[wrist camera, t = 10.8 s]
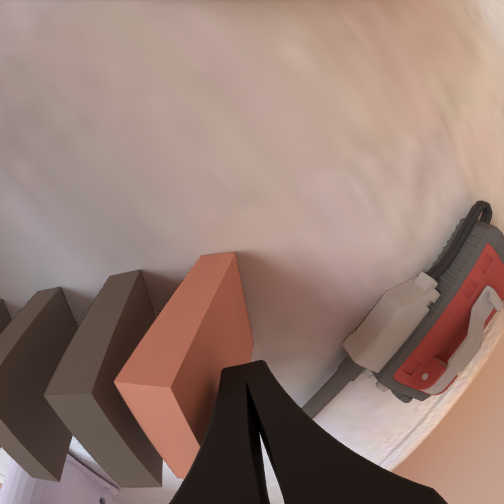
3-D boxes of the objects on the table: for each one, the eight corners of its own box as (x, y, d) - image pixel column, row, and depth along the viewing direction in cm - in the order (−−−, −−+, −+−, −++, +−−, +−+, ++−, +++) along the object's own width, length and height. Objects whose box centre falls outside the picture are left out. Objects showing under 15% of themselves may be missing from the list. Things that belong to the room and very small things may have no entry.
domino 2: (140, 269, 14) (91, 393, 6) (170, 354, 15) (161, 486, 8) (109, 276, 14) (43, 395, 6) (142, 359, 15) (121, 487, 8)
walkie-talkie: (453, 172, 15) (261, 422, 19) (508, 185, 11) (274, 474, 15) (503, 247, 18) (345, 442, 21) (544, 268, 14) (364, 481, 17)
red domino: (235, 252, 14) (170, 387, 6) (253, 343, 15) (221, 484, 8) (200, 255, 14) (113, 381, 7) (223, 344, 16) (177, 477, 8)
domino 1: (60, 286, 13) (-19, 393, 6) (96, 365, 15) (59, 482, 8) (37, 291, 13) (-43, 391, 6) (74, 367, 15) (32, 477, 7)
